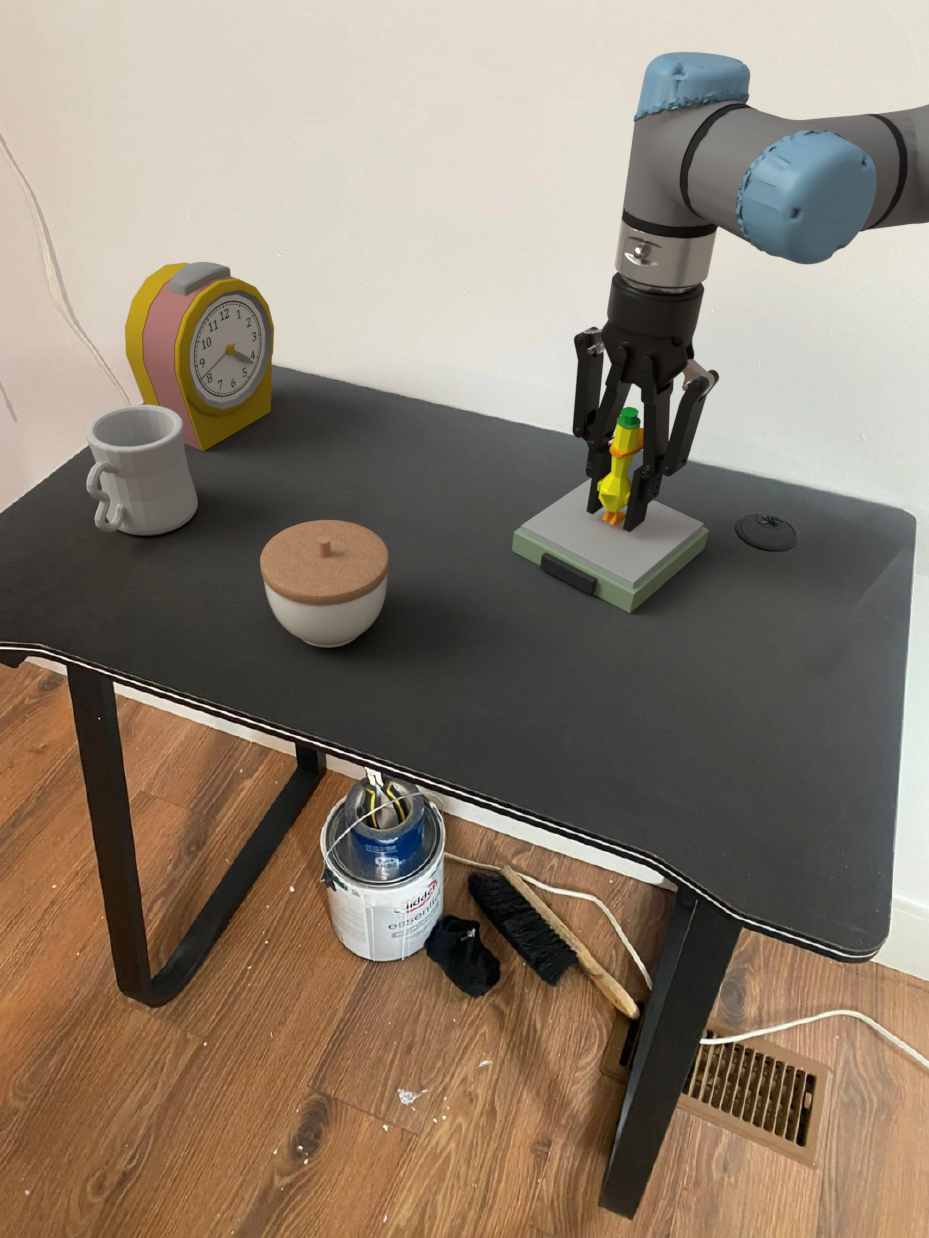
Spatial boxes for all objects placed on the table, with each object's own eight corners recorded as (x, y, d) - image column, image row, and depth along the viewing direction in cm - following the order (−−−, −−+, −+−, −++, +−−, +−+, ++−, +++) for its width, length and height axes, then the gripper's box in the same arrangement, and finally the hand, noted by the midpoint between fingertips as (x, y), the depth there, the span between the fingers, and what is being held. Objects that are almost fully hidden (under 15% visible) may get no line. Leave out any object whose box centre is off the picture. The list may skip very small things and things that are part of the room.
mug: (142, 481, 98) (123, 395, 92) (216, 500, 96) (202, 414, 89) (65, 544, 89) (39, 455, 83) (145, 567, 87) (125, 477, 81)
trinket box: (335, 572, 88) (330, 489, 82) (414, 625, 83) (415, 541, 76) (243, 623, 82) (231, 538, 76) (322, 684, 76) (315, 598, 70)
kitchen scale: (704, 549, 93) (711, 523, 91) (625, 617, 85) (631, 591, 83) (591, 495, 100) (595, 470, 98) (507, 554, 91) (509, 527, 89)
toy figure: (619, 497, 93) (641, 388, 85) (649, 512, 91) (673, 402, 83) (579, 523, 89) (598, 412, 81) (609, 540, 87) (631, 428, 79)
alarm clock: (196, 460, 102) (168, 297, 90) (143, 437, 105) (109, 277, 93) (284, 407, 112) (270, 254, 100) (233, 388, 115) (213, 238, 103)
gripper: (549, 260, 76) (524, 498, 91) (728, 320, 68) (668, 569, 84) (600, 239, 81) (568, 469, 96) (774, 294, 73) (709, 534, 88)
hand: (615, 515), depth 90 cm, fingers closed on toy figure, 4 cm apart
